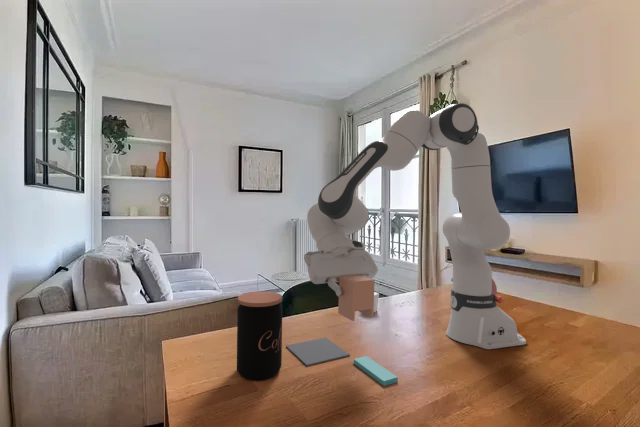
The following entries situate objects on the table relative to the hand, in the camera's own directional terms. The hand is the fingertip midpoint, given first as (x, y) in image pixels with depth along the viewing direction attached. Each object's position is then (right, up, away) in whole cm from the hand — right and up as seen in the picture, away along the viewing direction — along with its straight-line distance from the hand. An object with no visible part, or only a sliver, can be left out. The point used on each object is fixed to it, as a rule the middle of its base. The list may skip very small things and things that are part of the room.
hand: (354, 293), depth 85 cm
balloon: (+54, -18, +52) cm, 77 cm away
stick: (+4, -18, -5) cm, 20 cm away
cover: (0, -5, -1) cm, 6 cm away
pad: (-10, -18, +6) cm, 21 cm away
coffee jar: (-23, -18, -5) cm, 30 cm away
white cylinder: (+11, -18, +44) cm, 48 cm away
